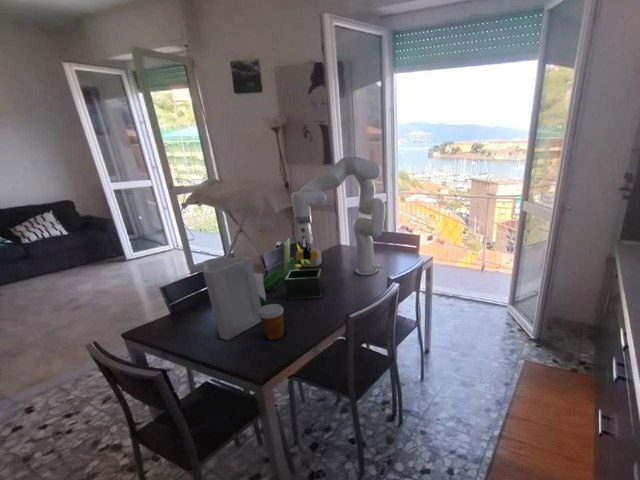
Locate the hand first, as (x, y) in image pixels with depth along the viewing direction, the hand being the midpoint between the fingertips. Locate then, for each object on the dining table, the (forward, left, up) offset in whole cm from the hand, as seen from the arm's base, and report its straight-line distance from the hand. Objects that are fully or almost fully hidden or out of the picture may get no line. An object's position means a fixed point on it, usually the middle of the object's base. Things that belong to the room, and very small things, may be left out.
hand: (308, 257), depth 171 cm
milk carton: (+22, +18, -20) cm, 35 cm away
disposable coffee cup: (+10, +40, -20) cm, 46 cm away
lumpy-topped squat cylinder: (+5, -50, -20) cm, 53 cm away
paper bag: (+29, +29, -20) cm, 46 cm away
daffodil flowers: (+15, -20, -20) cm, 32 cm away
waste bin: (+3, -1, -19) cm, 20 cm away
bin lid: (+10, 0, 0) cm, 10 cm away
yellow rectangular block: (0, 0, 0) cm, 0 cm away
